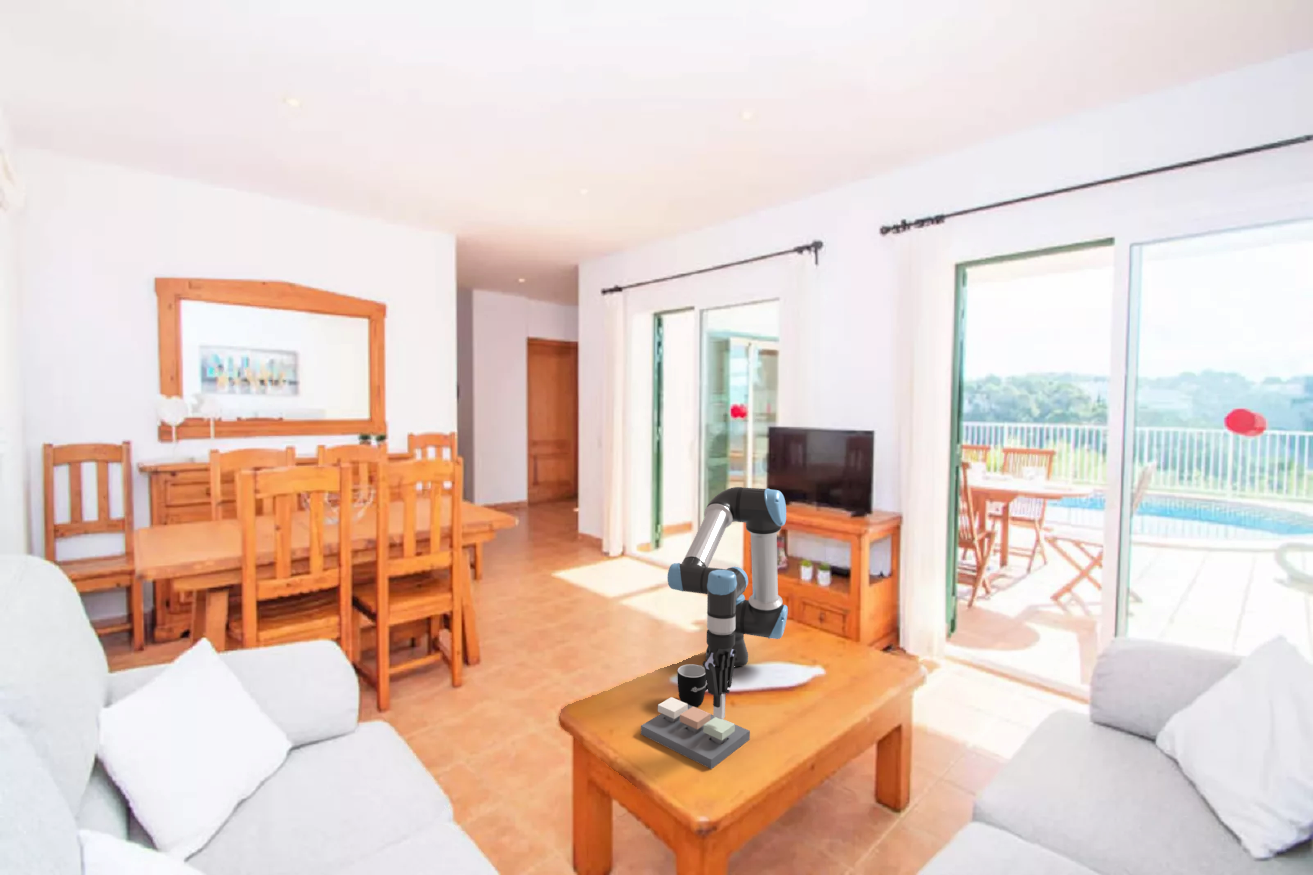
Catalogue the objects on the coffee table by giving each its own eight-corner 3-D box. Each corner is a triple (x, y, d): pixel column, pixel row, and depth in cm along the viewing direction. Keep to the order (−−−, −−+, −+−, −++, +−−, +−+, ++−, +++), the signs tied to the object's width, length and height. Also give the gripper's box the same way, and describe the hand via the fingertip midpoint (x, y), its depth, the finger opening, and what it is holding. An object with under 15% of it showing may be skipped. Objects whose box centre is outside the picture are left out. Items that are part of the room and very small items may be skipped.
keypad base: (681, 709, 183) (681, 701, 183) (749, 739, 168) (749, 730, 168) (640, 734, 170) (641, 725, 170) (711, 769, 154) (711, 759, 154)
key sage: (716, 732, 168) (716, 716, 167) (734, 740, 164) (734, 724, 163) (703, 741, 163) (703, 724, 163) (721, 749, 159) (722, 733, 159)
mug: (689, 713, 182) (689, 679, 181) (671, 700, 189) (671, 668, 188) (719, 701, 189) (720, 669, 188) (700, 690, 196) (701, 659, 195)
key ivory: (671, 712, 178) (671, 697, 178) (687, 719, 174) (687, 704, 174) (657, 720, 174) (657, 704, 173) (674, 727, 170) (674, 712, 169)
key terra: (693, 721, 173) (693, 706, 173) (710, 729, 169) (710, 713, 169) (679, 730, 168) (680, 714, 168) (697, 738, 164) (697, 722, 164)
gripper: (723, 620, 169) (721, 703, 170) (694, 633, 159) (693, 721, 160) (746, 627, 164) (744, 712, 165) (718, 640, 154) (716, 731, 155)
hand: (719, 716), depth 163 cm, fingers closed
